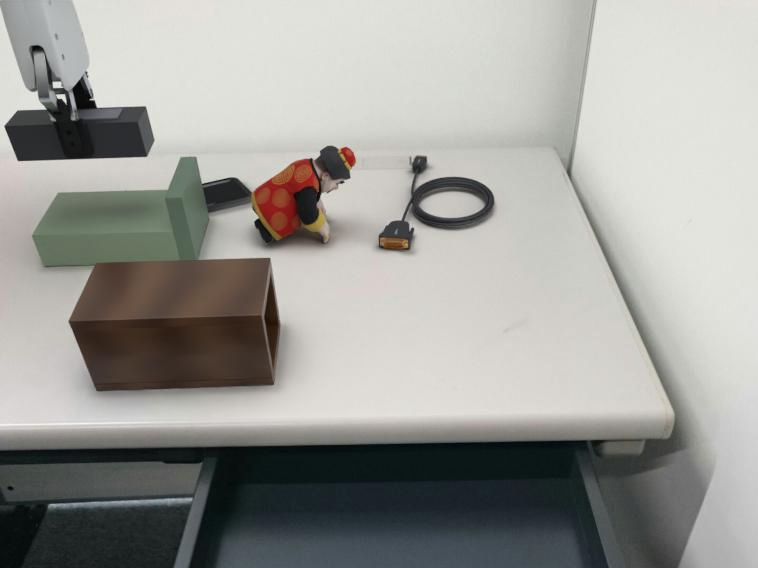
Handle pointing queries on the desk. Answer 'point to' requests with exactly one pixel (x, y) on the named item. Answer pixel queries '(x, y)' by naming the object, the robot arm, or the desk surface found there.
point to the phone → (225, 194)
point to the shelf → (179, 324)
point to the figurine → (300, 194)
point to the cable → (398, 230)
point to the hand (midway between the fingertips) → (85, 145)
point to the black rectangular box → (104, 128)
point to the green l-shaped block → (126, 223)
